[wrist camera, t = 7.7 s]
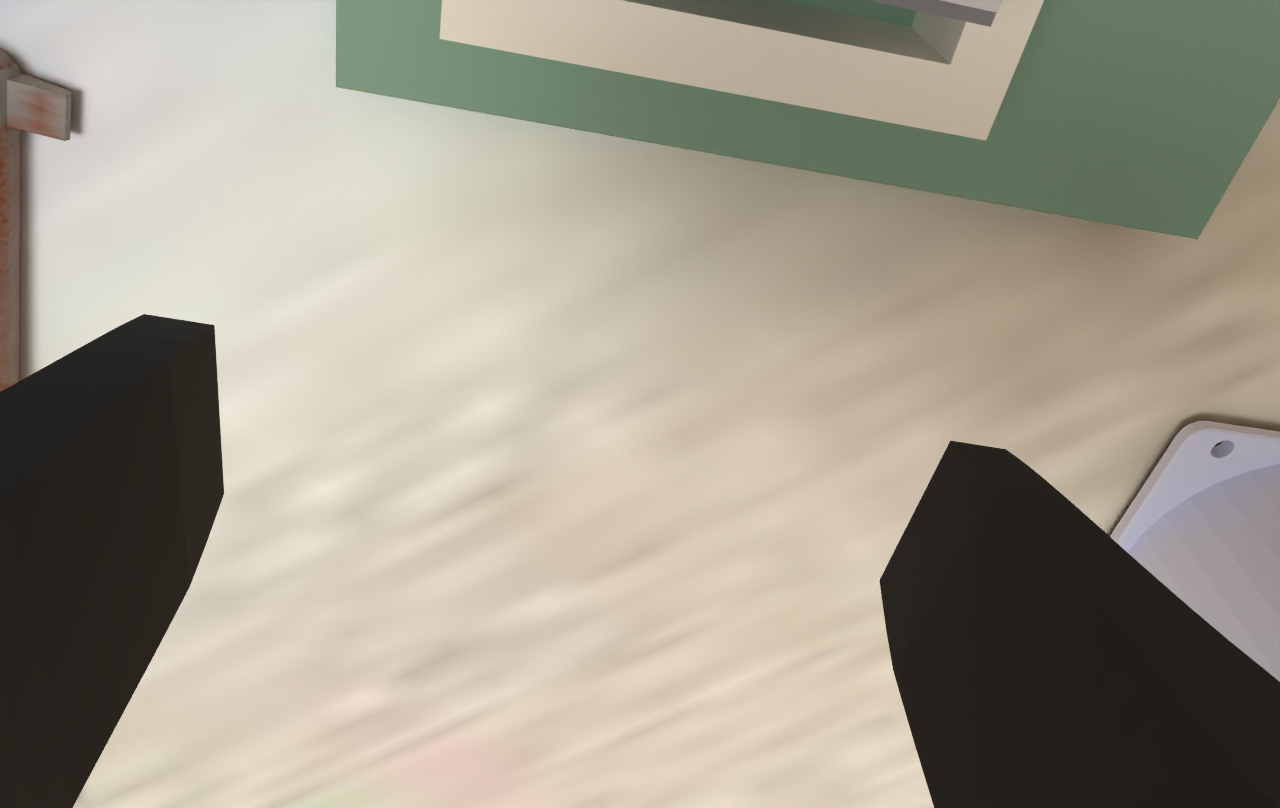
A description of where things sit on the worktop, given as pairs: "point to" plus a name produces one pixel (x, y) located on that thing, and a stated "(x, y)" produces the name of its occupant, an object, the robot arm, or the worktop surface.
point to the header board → (902, 155)
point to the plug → (953, 8)
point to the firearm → (3, 110)
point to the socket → (774, 52)
